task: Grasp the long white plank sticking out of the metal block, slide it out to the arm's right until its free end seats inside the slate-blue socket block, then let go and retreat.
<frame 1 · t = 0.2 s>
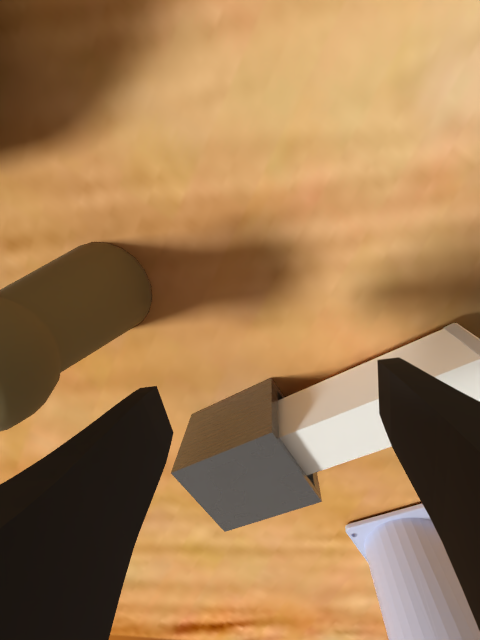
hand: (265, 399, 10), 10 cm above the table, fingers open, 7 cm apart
metal block: (250, 425, 23), on the table
long white plank: (322, 423, 19), point 3 cm above the table, slide at 0.0 cm
olive game pawn: (108, 288, 20), on the table
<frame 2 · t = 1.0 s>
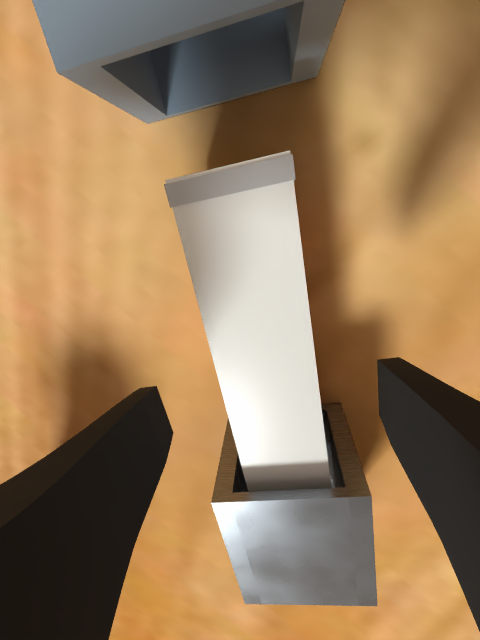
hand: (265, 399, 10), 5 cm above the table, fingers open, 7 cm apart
socket: (213, 23, 10), on the table
metal block: (292, 457, 17), on the table
long white plank: (278, 411, 13), point 3 cm above the table, slide at 0.0 cm
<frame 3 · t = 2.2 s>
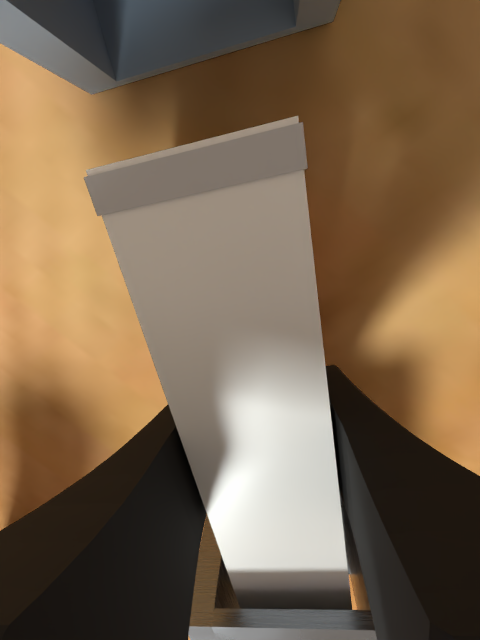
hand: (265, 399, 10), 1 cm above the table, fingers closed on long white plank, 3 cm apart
metal block: (294, 519, 14), on the table
long white plank: (277, 486, 10), point 3 cm above the table, slide at 0.0 cm, touching gripper
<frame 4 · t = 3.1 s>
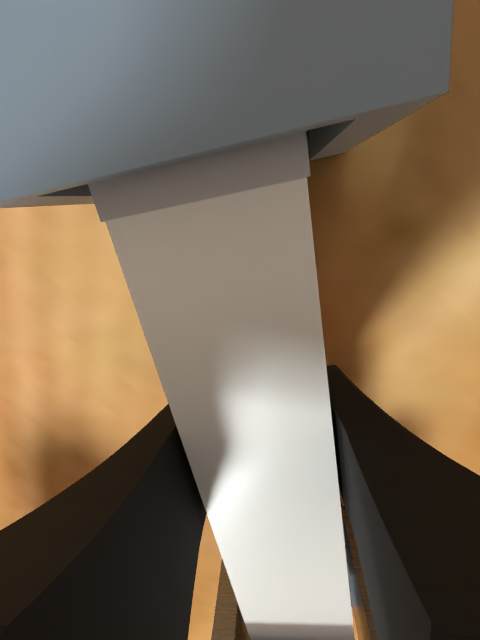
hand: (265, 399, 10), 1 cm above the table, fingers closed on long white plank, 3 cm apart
socket: (210, 85, 8), on the table
metal block: (300, 556, 15), on the table
long white plank: (278, 488, 10), point 3 cm above the table, slide at 2.7 cm, touching gripper
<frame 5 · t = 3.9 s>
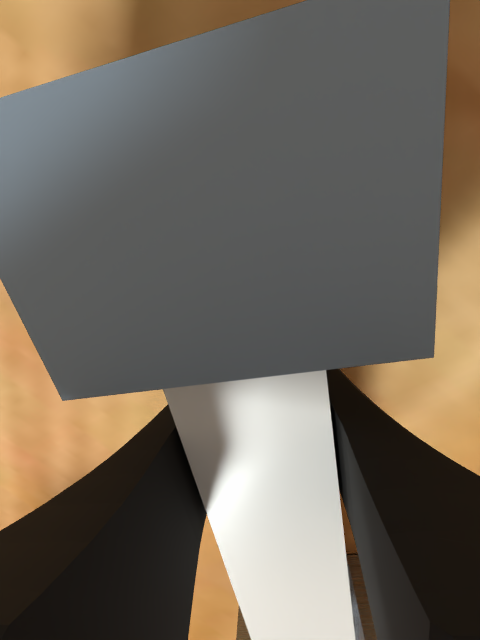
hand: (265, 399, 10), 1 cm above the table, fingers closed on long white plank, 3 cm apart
socket: (235, 220, 9), on the table
metal block: (309, 595, 16), on the table
long white plank: (278, 490, 10), point 3 cm above the table, slide at 6.0 cm, touching gripper
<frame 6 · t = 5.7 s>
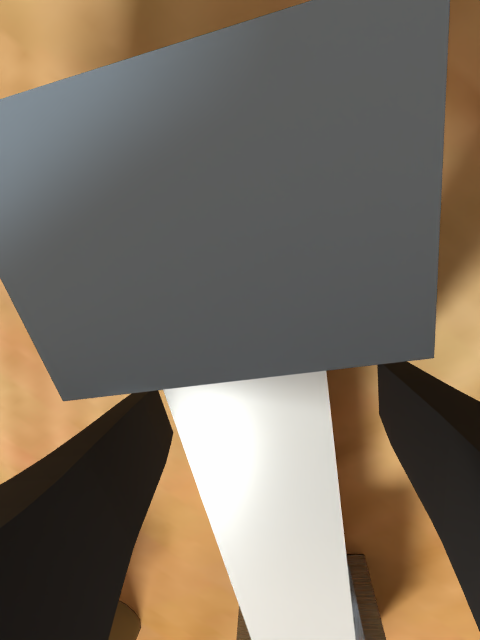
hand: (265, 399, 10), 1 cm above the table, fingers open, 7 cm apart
socket: (235, 220, 9), on the table
metal block: (309, 595, 16), on the table
long white plank: (278, 490, 10), point 3 cm above the table, slide at 6.0 cm
olive game pawn: (97, 612, 20), on the table
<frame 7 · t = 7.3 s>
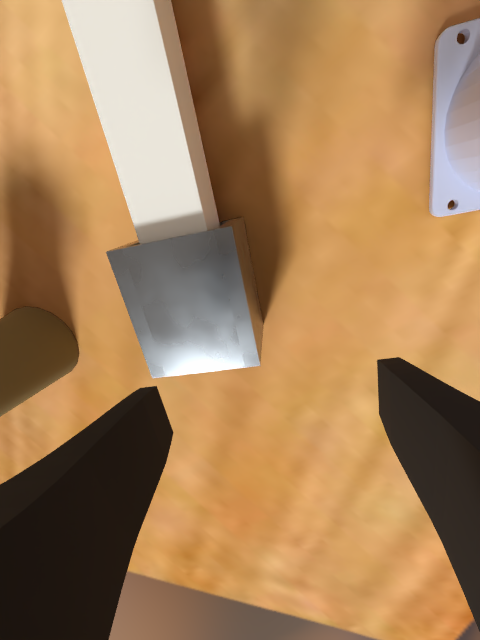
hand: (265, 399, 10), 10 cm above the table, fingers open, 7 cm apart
metal block: (208, 282, 19), on the table
long white plank: (132, 41, 13), point 3 cm above the table, slide at 6.0 cm
olive game pawn: (42, 342, 23), on the table
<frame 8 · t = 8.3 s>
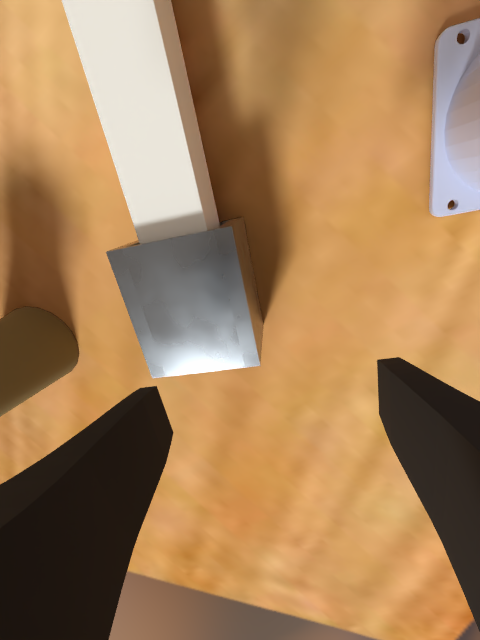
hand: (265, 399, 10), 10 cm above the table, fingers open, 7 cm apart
metal block: (208, 282, 19), on the table
long white plank: (132, 41, 13), point 3 cm above the table, slide at 6.0 cm
olive game pawn: (42, 342, 23), on the table
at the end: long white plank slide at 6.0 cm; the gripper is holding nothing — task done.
